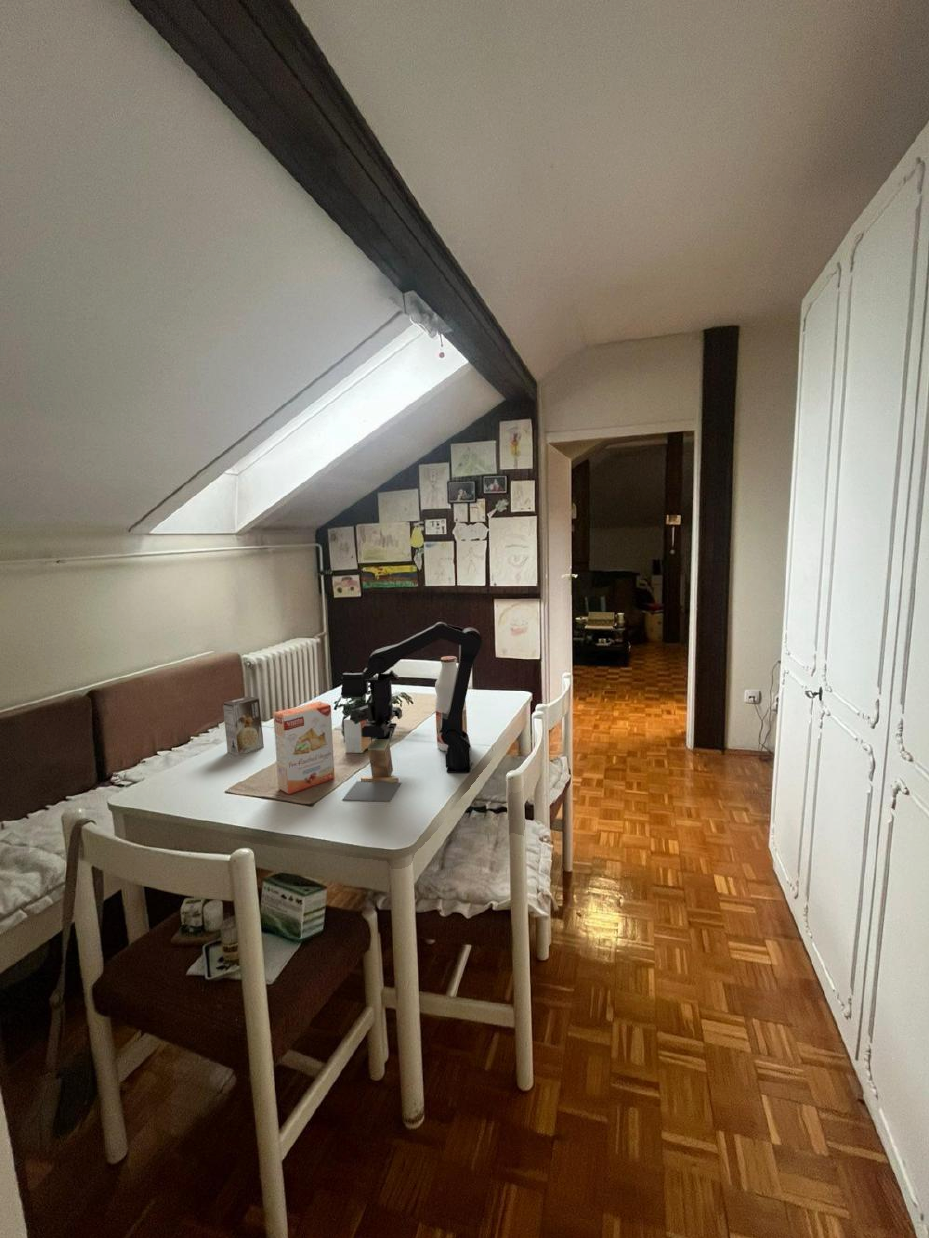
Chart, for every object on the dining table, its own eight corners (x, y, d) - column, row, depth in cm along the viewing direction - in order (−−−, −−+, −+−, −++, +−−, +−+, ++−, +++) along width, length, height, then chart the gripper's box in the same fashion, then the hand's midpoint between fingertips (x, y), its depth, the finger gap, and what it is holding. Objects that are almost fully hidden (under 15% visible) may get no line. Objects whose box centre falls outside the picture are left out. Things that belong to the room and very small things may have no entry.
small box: (362, 753, 177) (360, 719, 175) (345, 752, 178) (342, 719, 176) (371, 744, 184) (369, 712, 183) (355, 743, 186) (353, 711, 184)
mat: (400, 783, 154) (400, 782, 153) (389, 801, 143) (389, 800, 143) (357, 782, 155) (356, 781, 155) (342, 800, 145) (342, 799, 145)
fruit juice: (449, 754, 173) (445, 662, 169) (431, 746, 180) (426, 657, 177) (473, 746, 179) (470, 657, 175) (454, 739, 186) (451, 653, 182)
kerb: (398, 781, 155) (398, 777, 155) (397, 782, 154) (397, 779, 154) (362, 780, 156) (361, 776, 156) (360, 781, 155) (360, 778, 155)
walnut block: (393, 770, 160) (388, 738, 156) (388, 780, 156) (384, 748, 152) (377, 769, 161) (372, 738, 157) (372, 779, 156) (367, 748, 153)
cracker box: (289, 796, 148) (283, 716, 146) (277, 789, 153) (271, 712, 150) (336, 778, 158) (331, 703, 155) (324, 773, 162) (319, 700, 160)
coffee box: (252, 743, 189) (248, 695, 187) (264, 747, 185) (260, 698, 183) (226, 752, 182) (221, 702, 180) (238, 756, 178) (233, 705, 176)
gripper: (364, 687, 168) (367, 739, 170) (340, 705, 150) (344, 763, 152) (401, 687, 167) (404, 740, 169) (382, 706, 148) (385, 765, 150)
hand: (384, 751), depth 160 cm, fingers closed
